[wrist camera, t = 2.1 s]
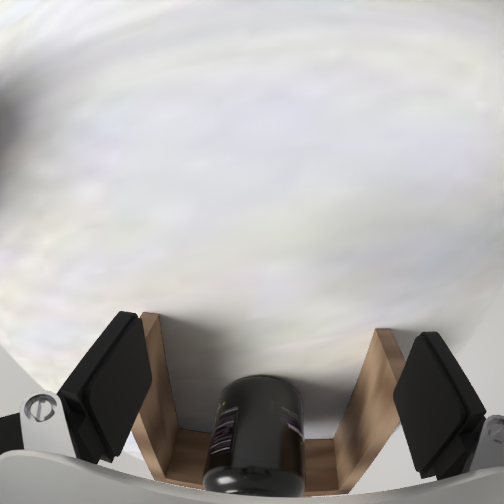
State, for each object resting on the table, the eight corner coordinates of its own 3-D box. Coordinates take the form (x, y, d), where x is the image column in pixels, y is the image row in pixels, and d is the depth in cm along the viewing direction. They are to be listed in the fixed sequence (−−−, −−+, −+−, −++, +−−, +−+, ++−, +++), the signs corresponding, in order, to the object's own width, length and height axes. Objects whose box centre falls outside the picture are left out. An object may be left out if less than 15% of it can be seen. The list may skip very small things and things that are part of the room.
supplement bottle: (318, 389, 23) (331, 528, 11) (275, 430, 25) (271, 547, 14) (240, 360, 22) (218, 513, 11) (206, 407, 24) (179, 530, 13)
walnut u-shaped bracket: (143, 312, 21) (108, 369, 15) (390, 328, 20) (417, 389, 14) (169, 432, 27) (154, 480, 21) (341, 444, 26) (347, 493, 20)
